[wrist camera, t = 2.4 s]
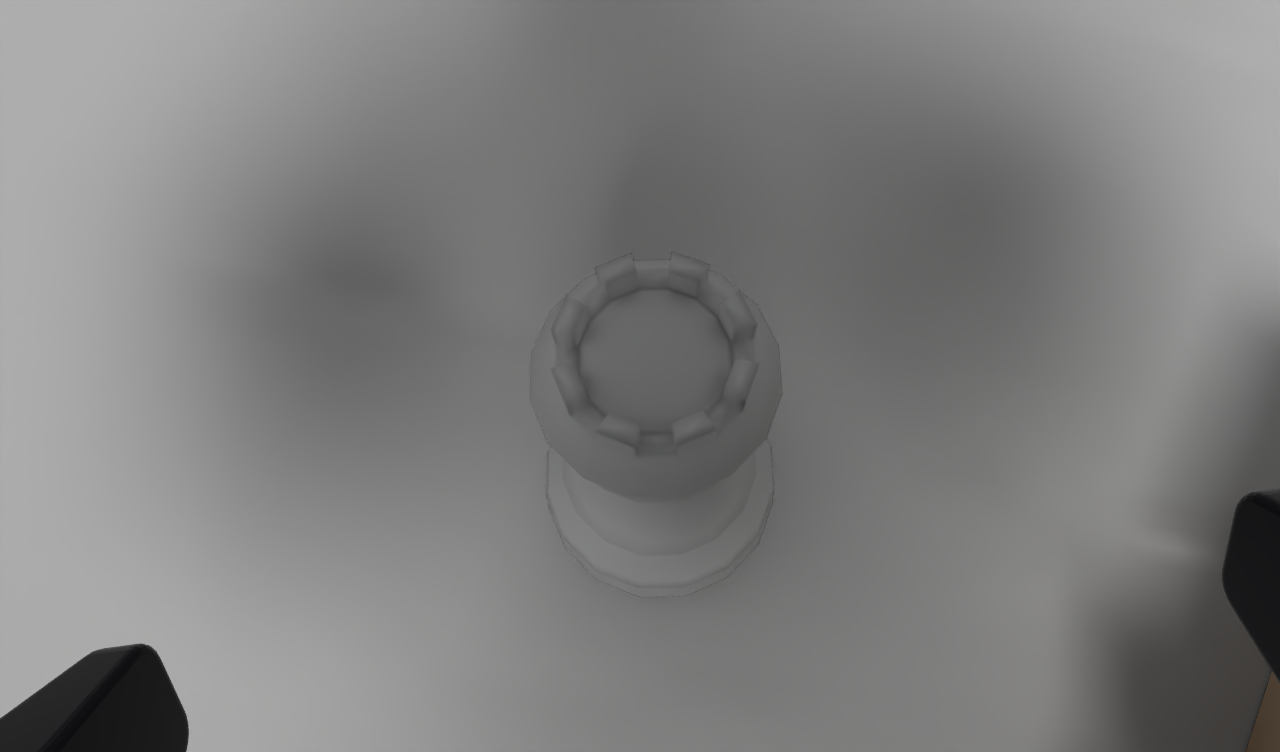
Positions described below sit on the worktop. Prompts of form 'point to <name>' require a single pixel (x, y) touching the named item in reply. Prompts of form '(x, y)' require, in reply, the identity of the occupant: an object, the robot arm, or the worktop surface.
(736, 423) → the rook chess piece
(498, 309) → the worktop surface
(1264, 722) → the walnut stand
